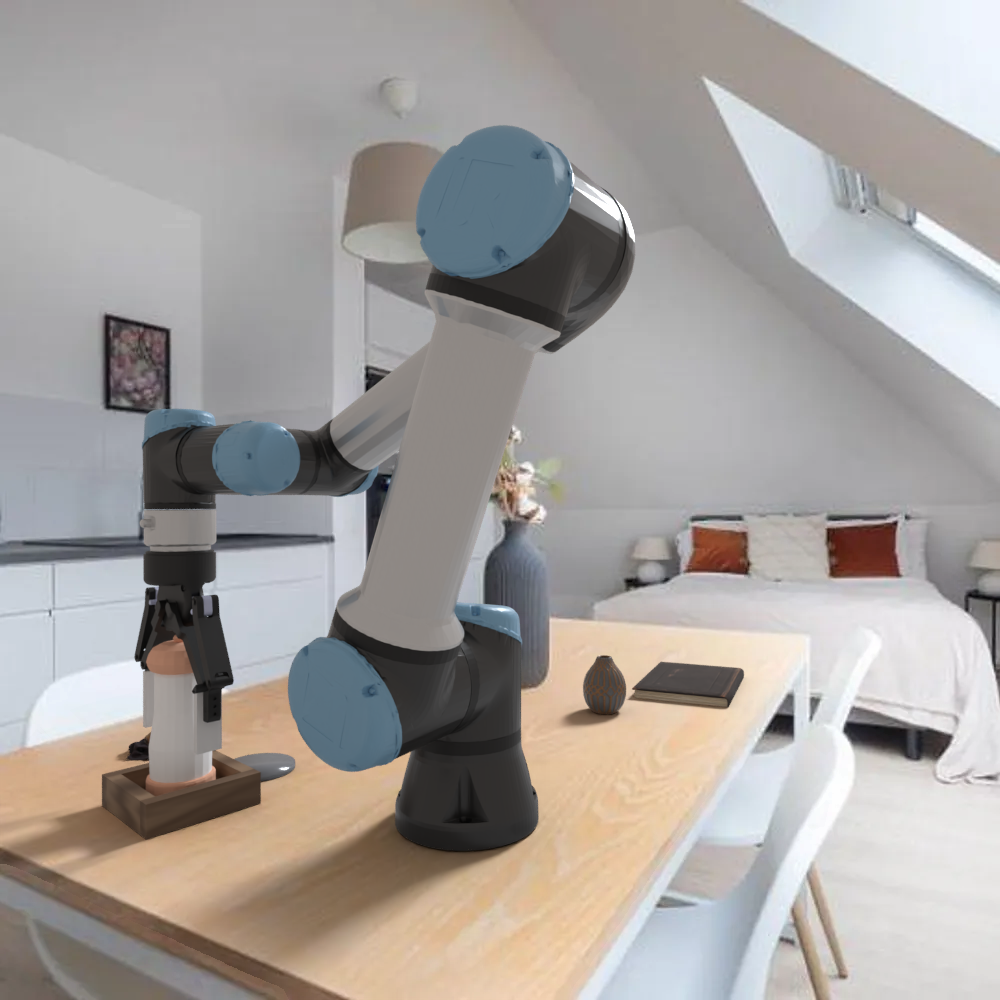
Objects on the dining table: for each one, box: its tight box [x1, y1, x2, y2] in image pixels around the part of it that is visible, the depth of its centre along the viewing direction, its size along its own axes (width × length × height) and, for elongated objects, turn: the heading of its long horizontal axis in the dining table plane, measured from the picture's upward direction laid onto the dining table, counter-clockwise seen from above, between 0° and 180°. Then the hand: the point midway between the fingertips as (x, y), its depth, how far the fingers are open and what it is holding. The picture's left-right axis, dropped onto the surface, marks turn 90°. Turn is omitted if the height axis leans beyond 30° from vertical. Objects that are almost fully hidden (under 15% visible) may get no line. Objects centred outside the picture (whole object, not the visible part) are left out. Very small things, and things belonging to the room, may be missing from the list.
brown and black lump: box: [125, 731, 151, 762], centre depth 104 cm, size 11×8×4 cm
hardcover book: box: [631, 661, 745, 708], centre depth 136 cm, size 16×23×2 cm
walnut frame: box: [101, 750, 262, 840], centre depth 84 cm, size 12×12×4 cm
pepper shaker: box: [146, 635, 216, 796], centre depth 84 cm, size 7×7×19 cm
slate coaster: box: [234, 752, 296, 782], centre depth 95 cm, size 9×9×1 cm
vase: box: [582, 654, 627, 715], centre depth 121 cm, size 7×7×9 cm
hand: (180, 737), depth 84 cm, fingers open, 13 cm apart
